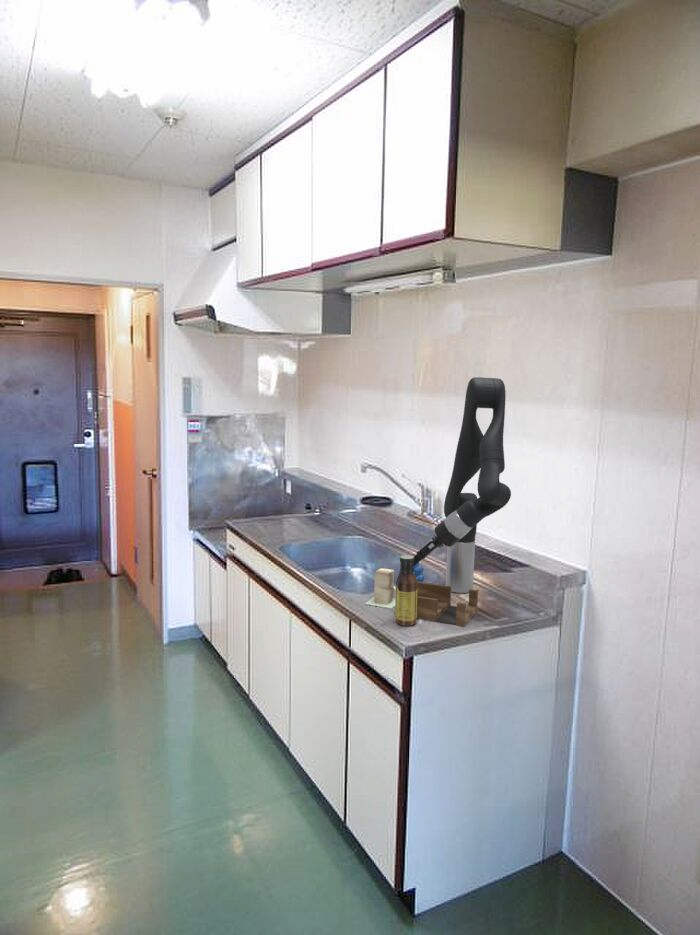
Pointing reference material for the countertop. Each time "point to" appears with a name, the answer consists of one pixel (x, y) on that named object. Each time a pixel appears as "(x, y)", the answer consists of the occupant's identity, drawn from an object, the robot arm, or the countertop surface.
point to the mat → (389, 606)
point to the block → (384, 586)
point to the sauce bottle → (406, 593)
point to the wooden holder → (443, 605)
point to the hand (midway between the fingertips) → (416, 560)
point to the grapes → (418, 572)
